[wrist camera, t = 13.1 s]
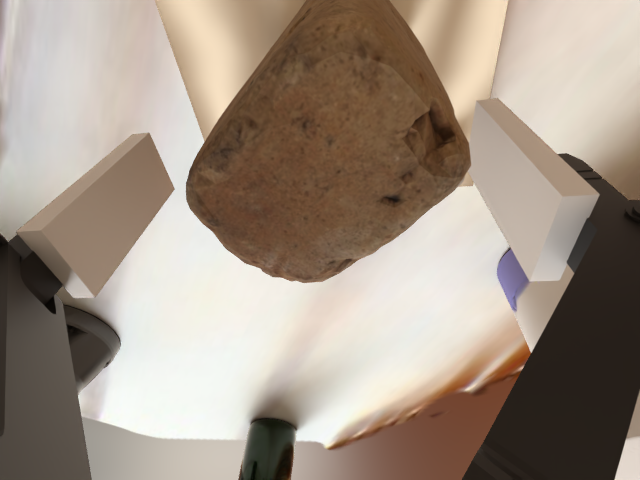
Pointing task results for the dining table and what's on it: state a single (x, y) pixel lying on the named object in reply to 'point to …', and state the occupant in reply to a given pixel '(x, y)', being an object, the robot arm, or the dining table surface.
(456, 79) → the peg stand
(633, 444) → the container
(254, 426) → the beer bottle
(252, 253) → the block
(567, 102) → the dining table surface
